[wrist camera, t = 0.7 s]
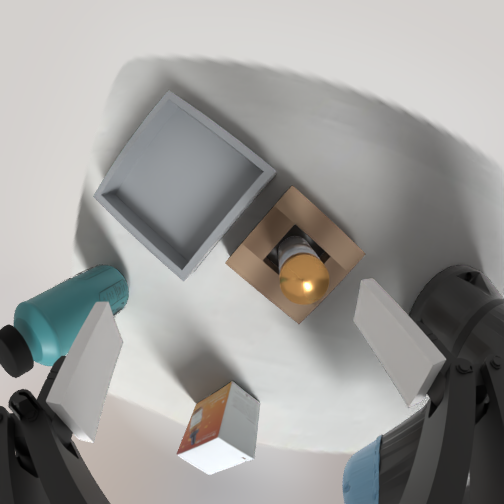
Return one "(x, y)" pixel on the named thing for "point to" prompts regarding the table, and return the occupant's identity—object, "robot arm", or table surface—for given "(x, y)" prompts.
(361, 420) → the table surface
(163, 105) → the tray
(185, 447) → the small box
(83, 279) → the beverage bottle
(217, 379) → the table surface
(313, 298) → the pin
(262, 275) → the block
